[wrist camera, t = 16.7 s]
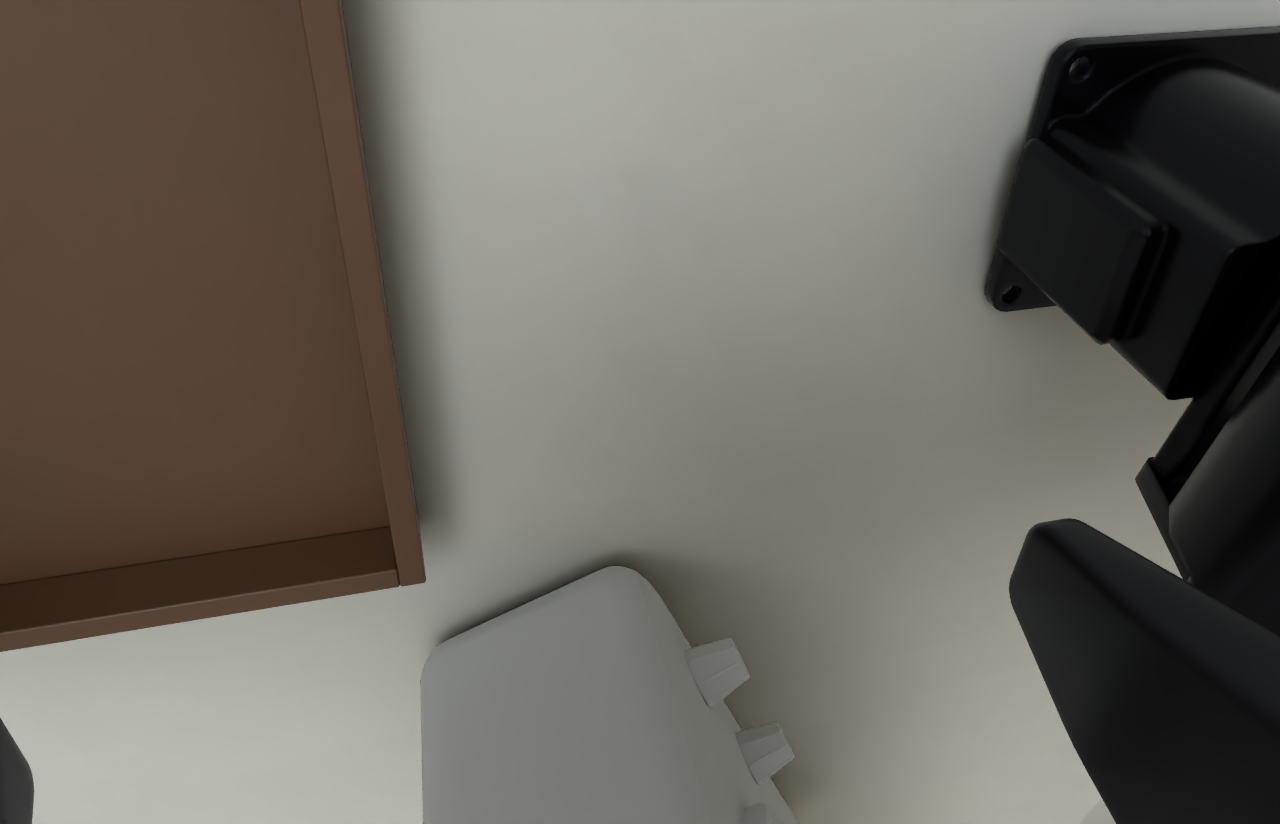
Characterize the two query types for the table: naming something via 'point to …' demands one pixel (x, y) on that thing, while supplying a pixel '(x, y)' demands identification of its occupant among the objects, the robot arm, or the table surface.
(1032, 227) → the robot arm
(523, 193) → the table surface
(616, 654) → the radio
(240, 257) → the tray
